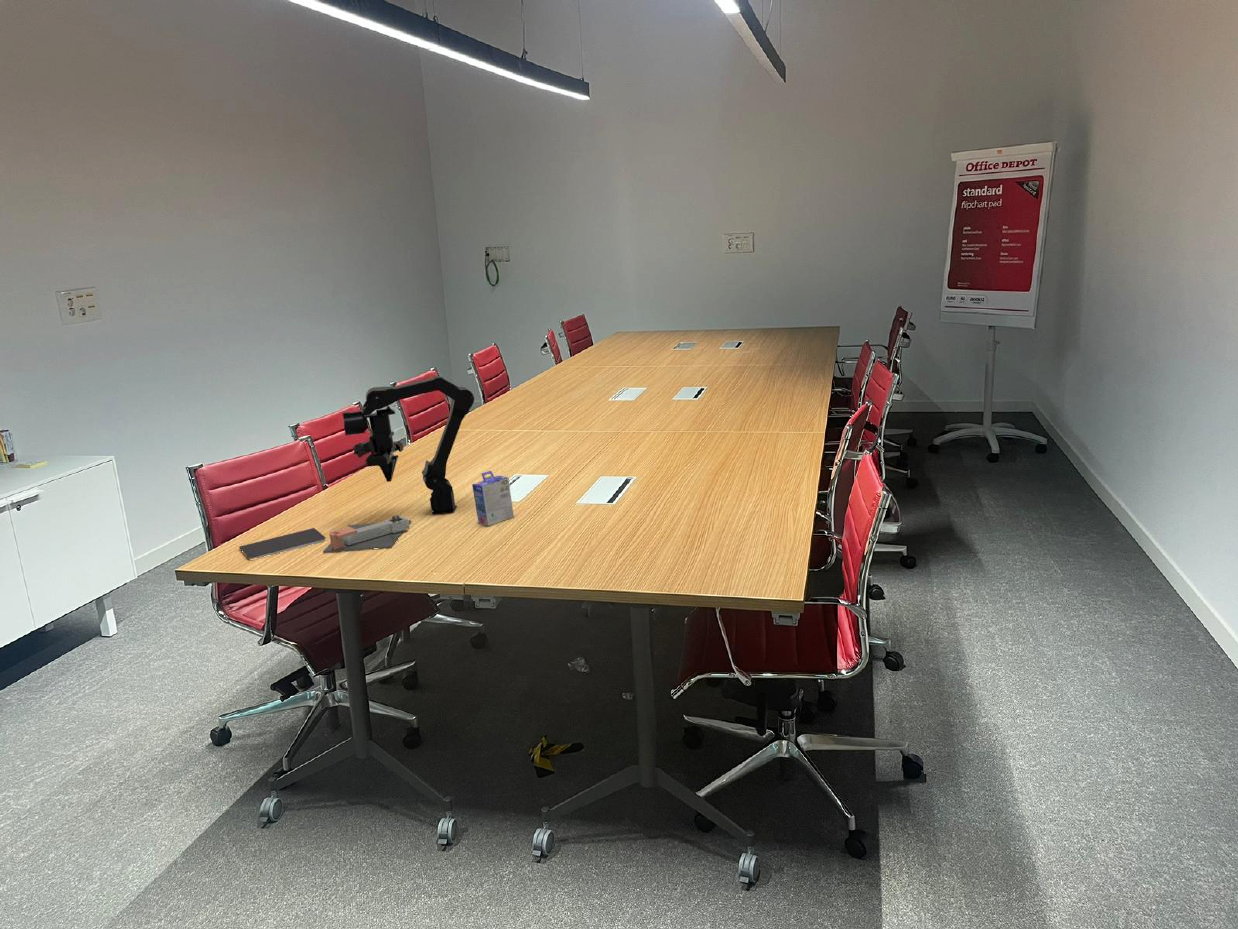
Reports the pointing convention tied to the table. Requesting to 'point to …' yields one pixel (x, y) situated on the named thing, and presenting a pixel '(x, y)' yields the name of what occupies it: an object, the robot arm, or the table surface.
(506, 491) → the ink cartridge box
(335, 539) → the keeper
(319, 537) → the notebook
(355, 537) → the link
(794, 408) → the table surface
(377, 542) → the pintle plate
